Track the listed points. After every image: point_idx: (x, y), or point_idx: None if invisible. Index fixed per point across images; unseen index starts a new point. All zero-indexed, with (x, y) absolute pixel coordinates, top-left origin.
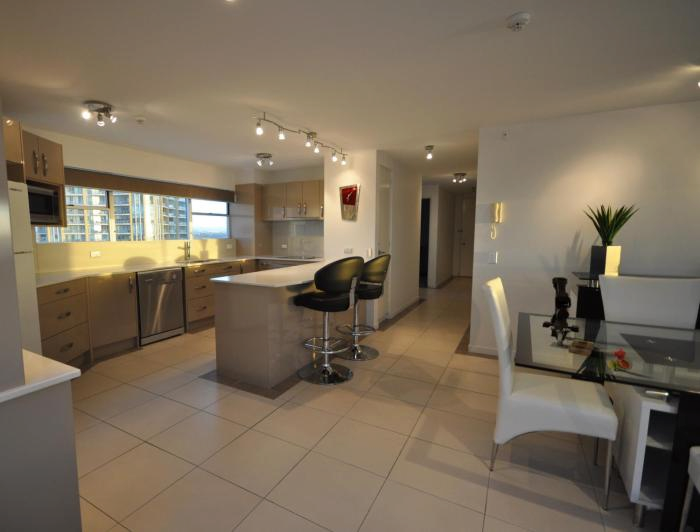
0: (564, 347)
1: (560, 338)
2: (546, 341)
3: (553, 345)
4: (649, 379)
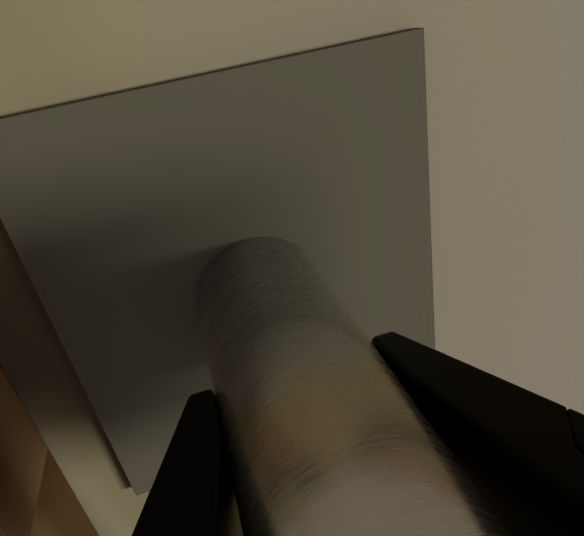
0: (106, 238)
1: (288, 383)
2: (533, 330)
3: (364, 165)
4: None
